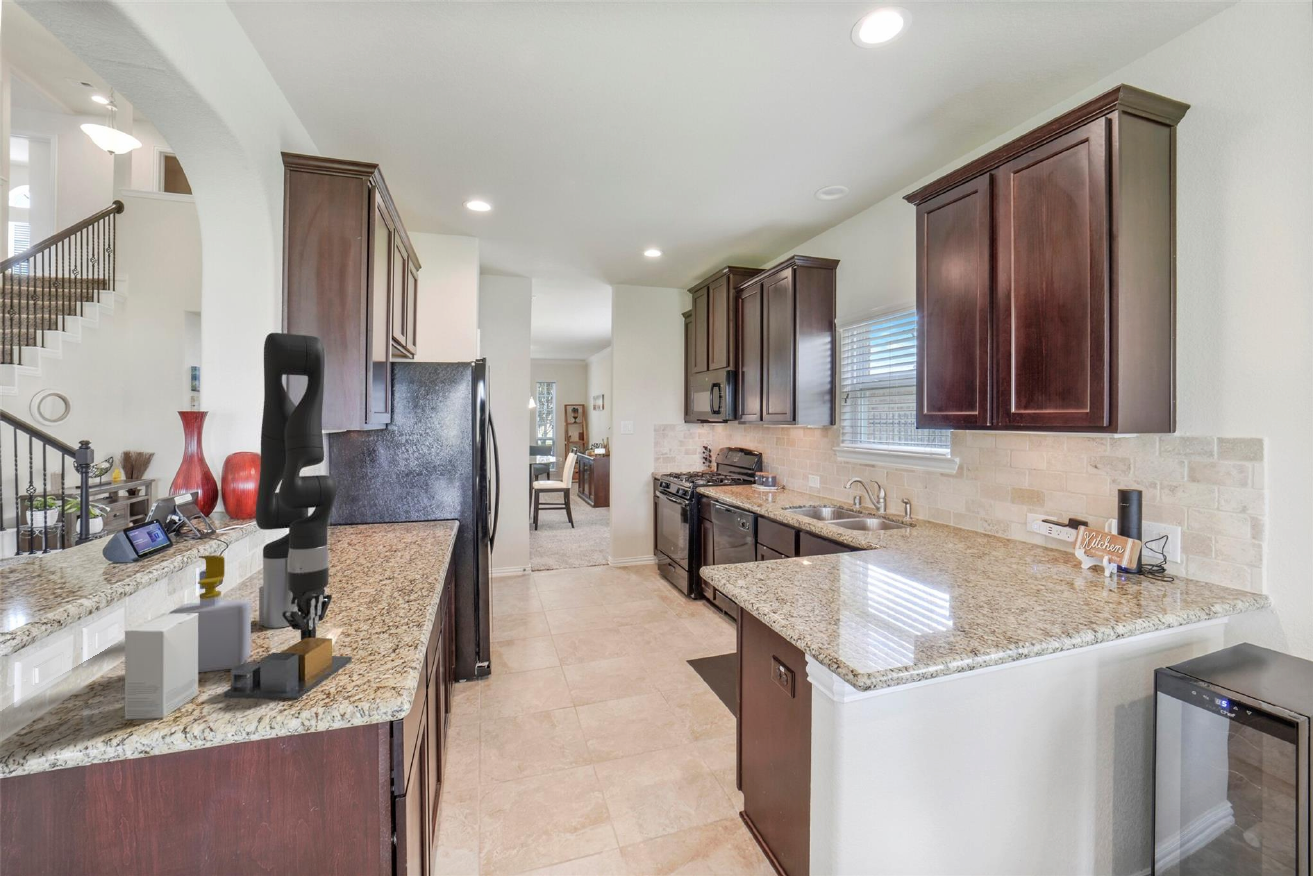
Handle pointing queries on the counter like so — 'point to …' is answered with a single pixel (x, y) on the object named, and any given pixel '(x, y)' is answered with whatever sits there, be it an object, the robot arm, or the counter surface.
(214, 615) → the soap bottle
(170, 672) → the skincare box
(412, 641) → the counter surface
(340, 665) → the stand
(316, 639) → the block
